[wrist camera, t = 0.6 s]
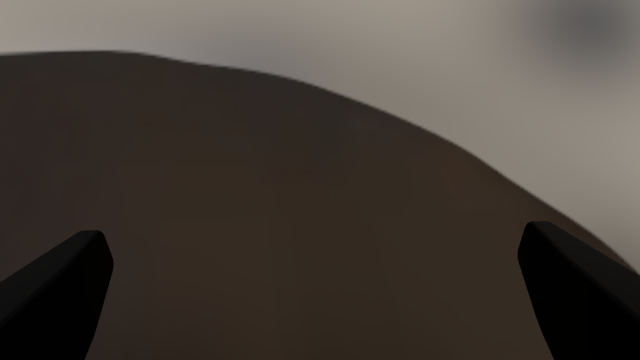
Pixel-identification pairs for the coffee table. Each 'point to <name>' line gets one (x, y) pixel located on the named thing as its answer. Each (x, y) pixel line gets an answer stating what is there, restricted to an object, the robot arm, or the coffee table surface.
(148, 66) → the coffee table surface
